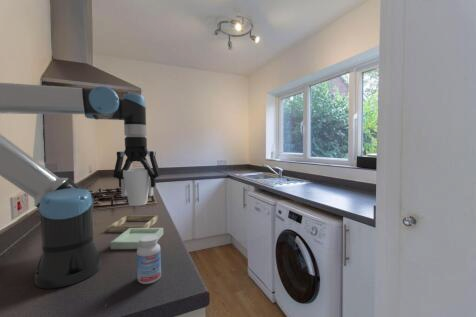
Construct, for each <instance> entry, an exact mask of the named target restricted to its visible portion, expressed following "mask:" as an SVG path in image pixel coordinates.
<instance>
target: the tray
mask: <svg viewBox="0 0 476 317" xmlns="http://www.w3.org/2000/svg"><path fill="white" fill-rule="evenodd" d="M146 235H156V236H157V237H158V240H160V238H162V236H163V235H164V227H150V228H129V229H128V230H126V231H125V232H121V234H120V235H119V236H117V237H116V238H114V239H113V240H111V241H110V245H109V246H110V250H137V249H138V248H139V247H140V244H139V239H140V238H141V237H143V236H146Z"/></svg>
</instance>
